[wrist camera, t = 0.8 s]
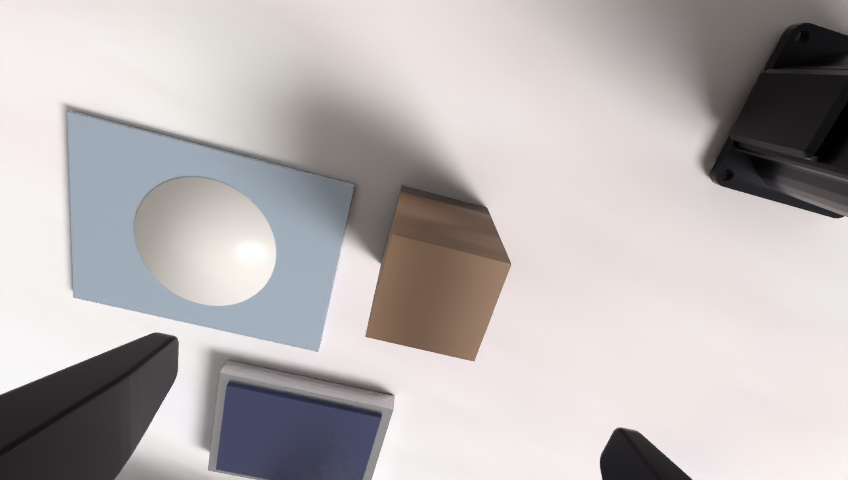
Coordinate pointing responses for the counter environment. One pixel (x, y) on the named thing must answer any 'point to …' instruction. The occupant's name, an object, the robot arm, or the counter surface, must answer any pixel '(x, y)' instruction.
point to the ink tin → (295, 426)
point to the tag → (202, 233)
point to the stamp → (438, 275)
